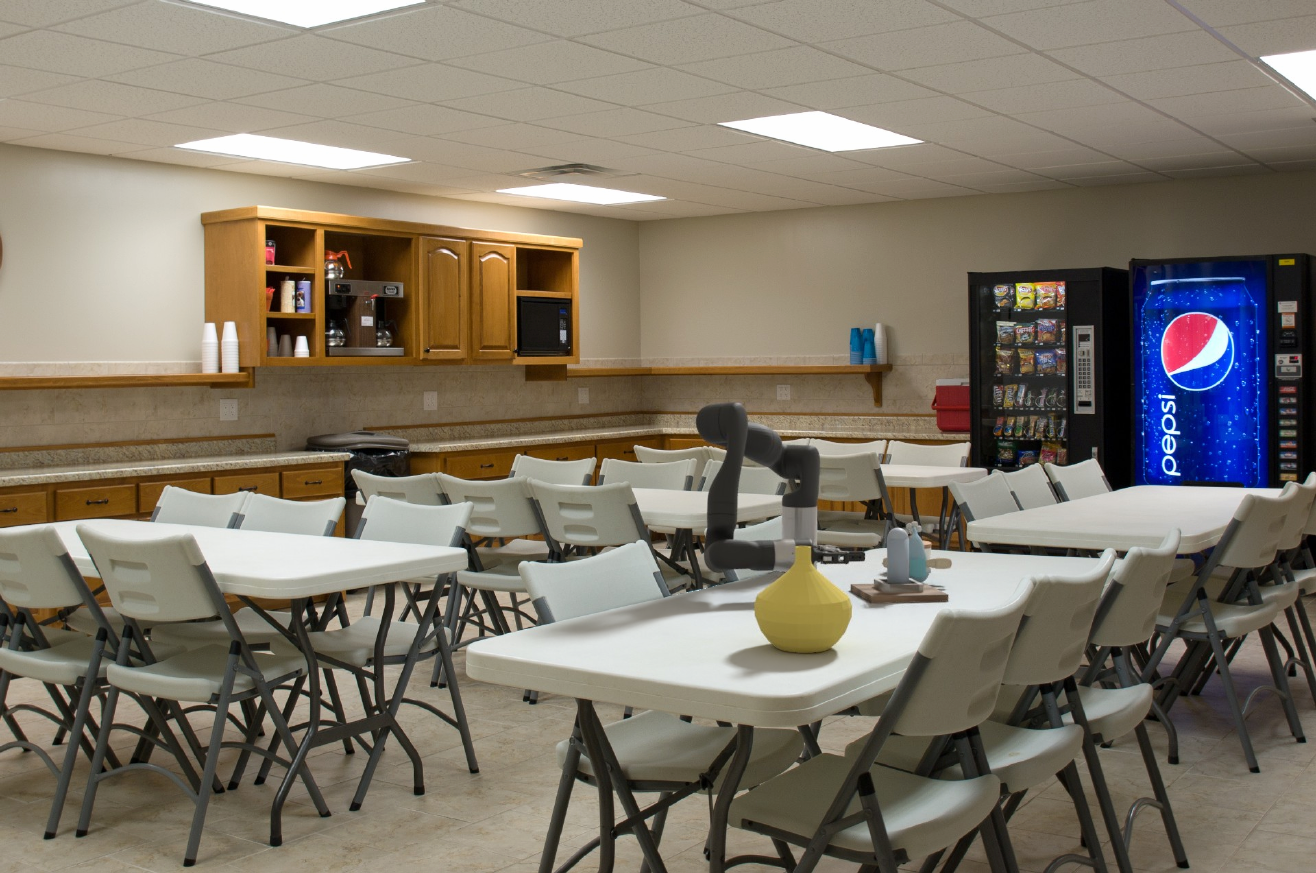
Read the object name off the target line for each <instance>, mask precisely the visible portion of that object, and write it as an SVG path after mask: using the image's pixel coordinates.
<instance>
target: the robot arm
mask: <svg viewBox="0 0 1316 873" xmlns="http://www.w3.org/2000/svg"><path fill="white" fill-rule="evenodd" d="M695 425H696V426H695V427H696V430H697V432H698V434H699V436H700V437H701V439H703V440H704V441H705V442H707V443H709V444H711V445H716V446H720V447H723V448H726V453H725V457H724V459H723V462H722V463H721V466H720V468H719V470H718V471H717V473H716V475H715V477H714V479H713V480H712V482H711V485H710V487H709V489H708V494H707V501H706V502H707V506H706V524H707V525H706V532H705V539H704V546H703V560H704V564H705V566H706V567H707V569H709V571H710V572H711V571H712V572H713V573H716V574H721V573H725V572H727V571H731V570H733V571H734V570H751V571H754V572H755V571H756V572H766V571H768V572H769V571H770V572H772V571H773V572H782V573H783V572H784V573H786V572H787V571H788V570H789V569H790V568H791V567H792V566H793V564H794V563H795V547H796V546H810V547H811V562H812V564H813V566H814V567H815V568H816V570H817V571H818V563H820V564H821V565H849V563H851V562H865V561H866V552H865V551H855V547H854V546H839V545H834V544H818V501H819V500H818V499H819V493H820V474H821V457H820V451H819V450H818V448H817V447H816V446H814V445H807V444H805V445H804V444H785V443H783V440H782V438H781V436H780V434H778V432H776V431H775V430H774V429H773V428H770V427H768V426H767V425H764V424H762V423H758V422H755V421H749V419H748V414H747V411H746V408H745V407H744V406H743V404H742V403H741V402H737V401H736V402H735V401H734V402H733V401H731V402H723V403H721V402H720V403H713V404H709V405H708V404H707V405H705V406H703V407H702V408H701V409H699V410H698V412H697V414H696V418H695ZM744 457H745V458H746V459H748V460H750V461H753V462H754V463H756V464H759V465H761V466H763V467H766V468H768V469H769V470H770V471H772V472H774V474H776V475H777V476H779V477H780V478H782V479H785V480H789V481H792V480H793V481H800V482H799V483H800V484H799V487H798V488H796V489H795V490H794V491H791V492H788V493H786V494H785V493H784V494H782V497H781V538H779V539H771V540H770V539H769V540H768V539H767V540H765V539H764V540H744V539H743V540H742V539H735V538H734V537H735V530H736V528H737V524H738V504H739V503H738V501H739V487H740V486H739V484H740V479H741V478H740V477H741V472H742V467H743V463H744ZM841 557H842V558H843V559H842V558H841Z"/></svg>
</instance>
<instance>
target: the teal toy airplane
mask: <svg viewBox="0 0 1316 873" xmlns="http://www.w3.org/2000/svg"><path fill="white" fill-rule="evenodd" d="M905 528H906V530H907V531H908V532H909V534H910V536H911V537H910V539H909V578H911V579H913V580H916V581H918V582H920V583H924V582H925V581H926V580H927V579H928V578H929V575H930V574H931V573H932V569H936V570H946V569H948V570H949V569H951V568H952V565H953V563H952V559H951V558H948V557H947V558H946V557H936V558H935V557H934V558H930V559H928V558H927V556H926V553H925V548H924V544H923V541H924V540H922V537H921V536H919V534H918V533H921V532H922V531H923V528H922V526H921V525H919V523H918V521H911V522H909V523H908V522H907V524H906V525H905ZM881 565H882V566H883V567H884V568H886V569H887V557H884V558H883V559H882V562H881Z"/></svg>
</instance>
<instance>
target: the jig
mask: <svg viewBox="0 0 1316 873" xmlns="http://www.w3.org/2000/svg"><path fill="white" fill-rule="evenodd" d="M850 591H851V592H853V593H854V594H857V596H860V597H861V598H863V599H864V600H866V601H868V602H870V604H882V603H884V604H885V603H886V604H887V603H920V602H921V603H924V602H926V603H928V602H930V603H931V602H933V603H934V602H949V594H948V593H946V592H943V591H942V590H939V589H938V588H936V587H933V586H931V585H930V584H927V583H924V582H921V583H920V582H918V581H916V580H913V579H911V578H909V584H887V578H873V583H851V584H850Z"/></svg>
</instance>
